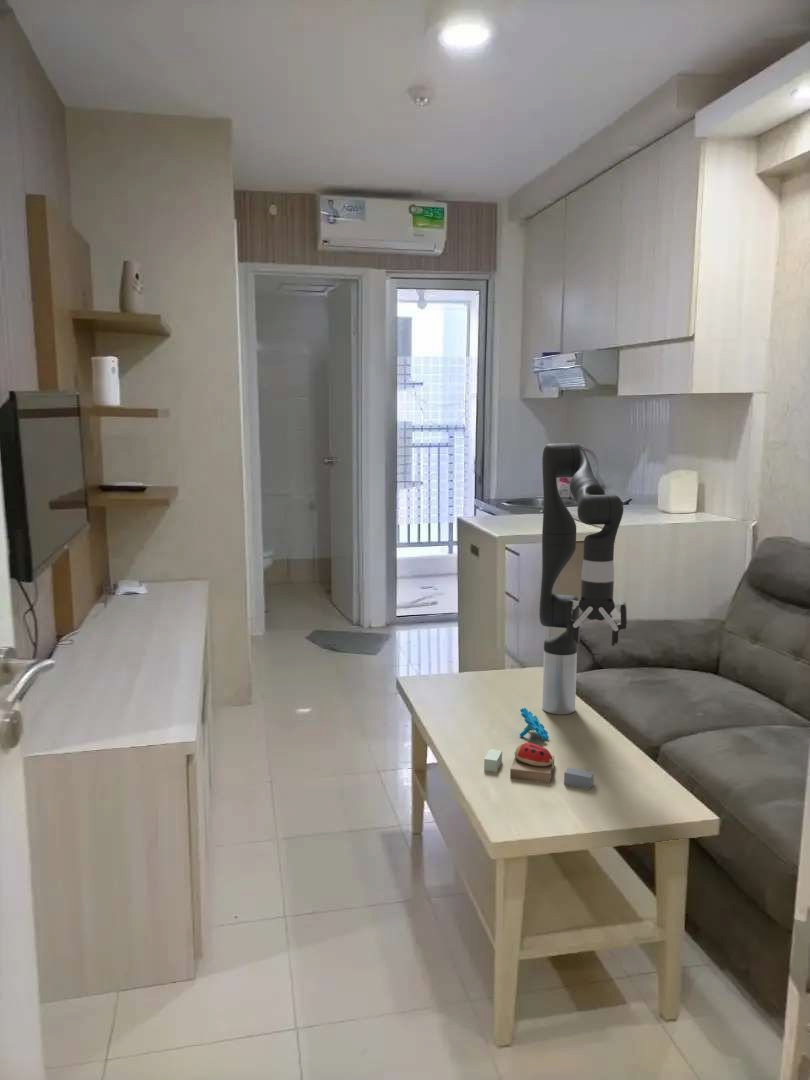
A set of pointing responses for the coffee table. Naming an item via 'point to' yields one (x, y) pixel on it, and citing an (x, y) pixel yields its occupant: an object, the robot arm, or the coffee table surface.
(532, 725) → the gear
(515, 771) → the walnut block
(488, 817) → the coffee table surface
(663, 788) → the coffee table surface
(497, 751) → the sage brick
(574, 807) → the coffee table surface
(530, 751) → the ladybug figurine
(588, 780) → the slate brick
